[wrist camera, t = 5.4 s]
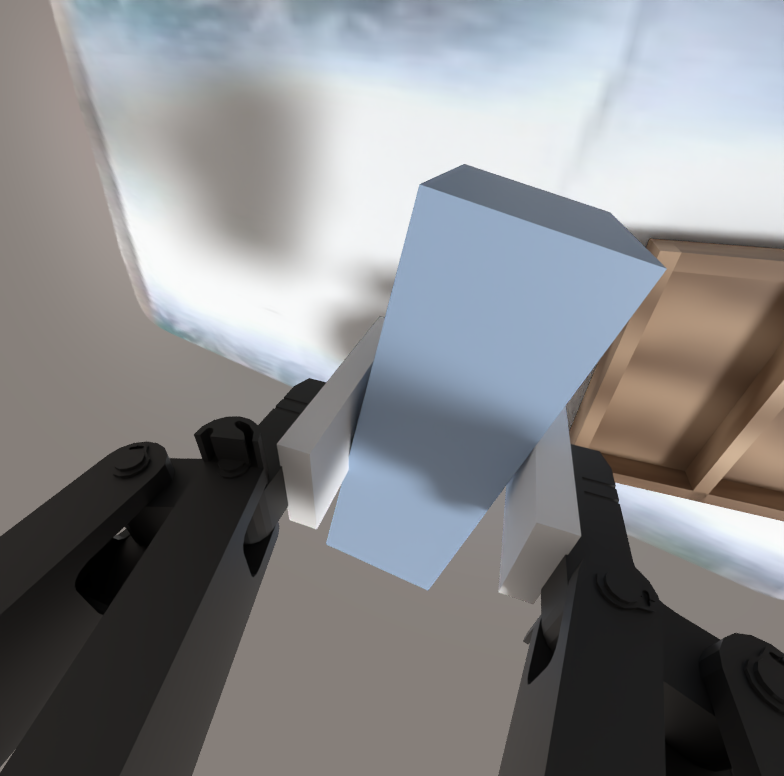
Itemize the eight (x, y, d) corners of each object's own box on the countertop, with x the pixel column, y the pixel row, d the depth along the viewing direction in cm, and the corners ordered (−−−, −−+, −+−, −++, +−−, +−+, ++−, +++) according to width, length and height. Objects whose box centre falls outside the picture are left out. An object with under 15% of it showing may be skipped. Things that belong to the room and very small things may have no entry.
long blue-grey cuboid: (464, 163, 10) (419, 184, 6) (610, 212, 9) (666, 268, 5) (372, 450, 17) (326, 544, 13) (452, 484, 17) (428, 590, 13)
